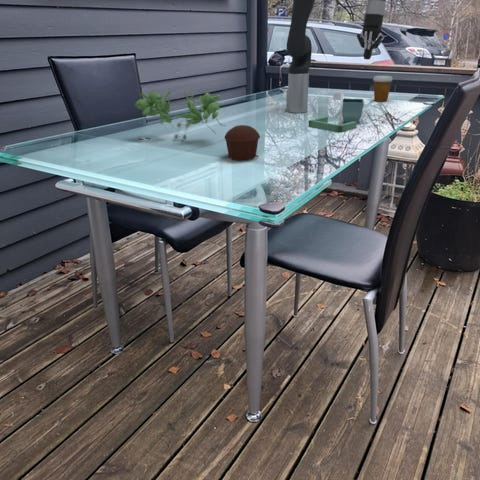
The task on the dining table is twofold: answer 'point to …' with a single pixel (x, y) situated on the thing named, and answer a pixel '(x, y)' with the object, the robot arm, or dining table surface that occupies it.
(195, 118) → the plant cuttings
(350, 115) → the flower pot
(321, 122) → the green u-shaped frame
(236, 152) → the muffin
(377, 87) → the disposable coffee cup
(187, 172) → the dining table surface
